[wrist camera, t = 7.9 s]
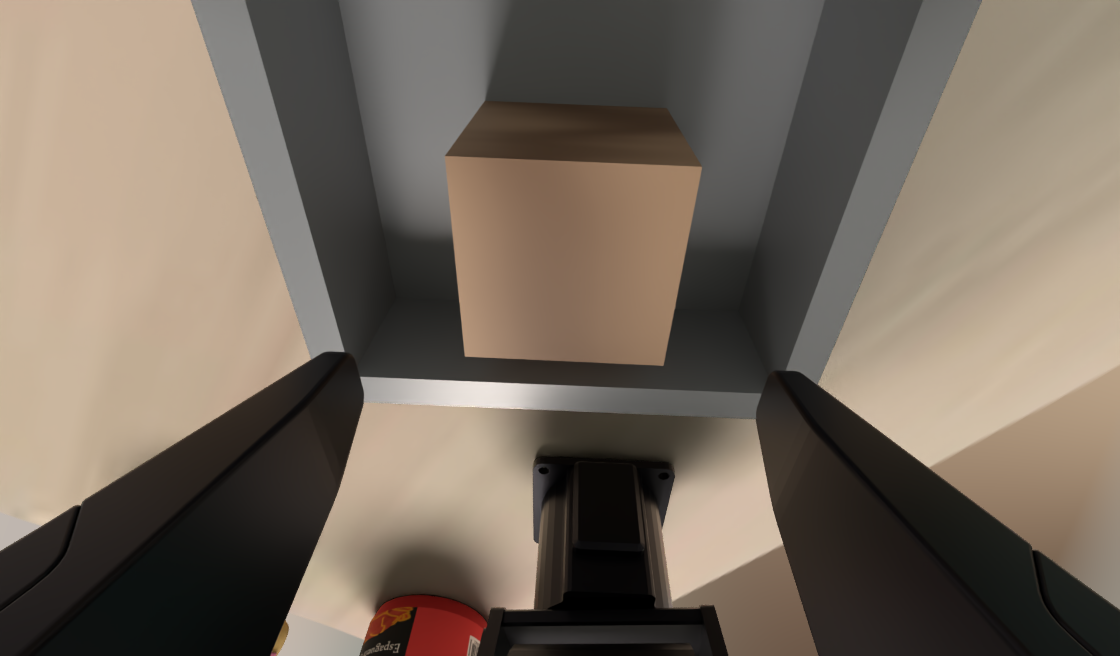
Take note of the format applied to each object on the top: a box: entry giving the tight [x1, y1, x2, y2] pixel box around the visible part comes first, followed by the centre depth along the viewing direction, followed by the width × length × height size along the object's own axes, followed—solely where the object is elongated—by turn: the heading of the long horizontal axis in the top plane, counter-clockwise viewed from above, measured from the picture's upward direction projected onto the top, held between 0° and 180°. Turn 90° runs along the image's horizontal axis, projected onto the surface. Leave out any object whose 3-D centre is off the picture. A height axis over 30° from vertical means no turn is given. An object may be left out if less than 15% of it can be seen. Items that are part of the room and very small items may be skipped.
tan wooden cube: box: [445, 101, 702, 366], centre depth 13 cm, size 5×5×5 cm
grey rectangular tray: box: [191, 0, 982, 419], centre depth 12 cm, size 18×14×5 cm
